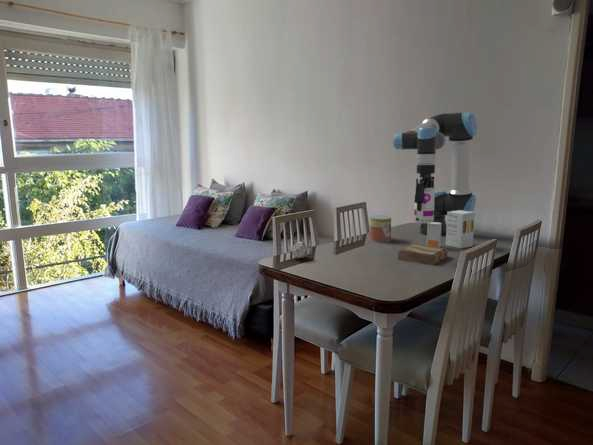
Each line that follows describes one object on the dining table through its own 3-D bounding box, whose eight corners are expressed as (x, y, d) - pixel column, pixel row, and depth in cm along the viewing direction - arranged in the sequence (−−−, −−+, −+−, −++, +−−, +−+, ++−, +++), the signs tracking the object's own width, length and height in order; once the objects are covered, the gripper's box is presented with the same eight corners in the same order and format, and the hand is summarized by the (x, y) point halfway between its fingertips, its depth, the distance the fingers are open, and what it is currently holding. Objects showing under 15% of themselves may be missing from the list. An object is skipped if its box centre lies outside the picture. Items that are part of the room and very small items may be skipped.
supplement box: (460, 248, 215) (462, 213, 212) (445, 245, 223) (446, 211, 220) (473, 246, 220) (475, 211, 217) (457, 242, 228) (459, 209, 225)
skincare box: (426, 247, 219) (427, 223, 217) (428, 245, 222) (428, 221, 220) (439, 248, 216) (440, 224, 214) (440, 246, 220) (441, 222, 217)
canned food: (381, 243, 229) (381, 219, 227) (364, 239, 238) (364, 217, 236) (395, 239, 236) (396, 217, 234) (378, 236, 245) (379, 214, 243)
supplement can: (430, 224, 191) (432, 188, 189) (411, 222, 196) (412, 188, 193) (435, 221, 198) (437, 187, 195) (417, 219, 202) (418, 186, 200)
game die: (299, 265, 205) (302, 245, 210) (311, 262, 199) (314, 241, 203) (284, 258, 200) (287, 238, 205) (296, 255, 194) (300, 234, 198)
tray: (413, 251, 211) (413, 243, 210) (447, 256, 201) (447, 248, 200) (397, 259, 199) (398, 250, 198) (433, 264, 189) (433, 255, 188)
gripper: (427, 162, 203) (425, 212, 207) (406, 165, 187) (405, 219, 191) (443, 163, 198) (441, 214, 202) (424, 165, 182) (422, 221, 186)
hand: (424, 216), depth 196 cm, fingers closed on supplement can, 8 cm apart
